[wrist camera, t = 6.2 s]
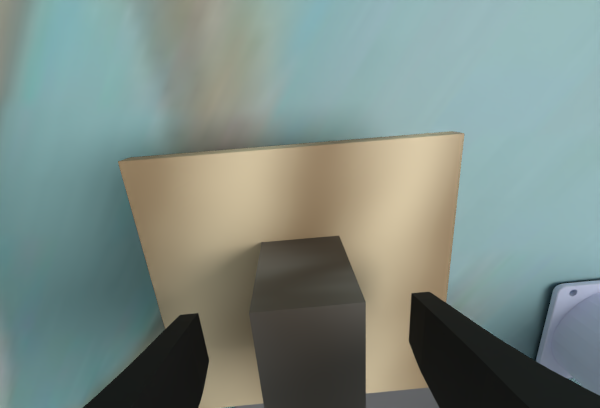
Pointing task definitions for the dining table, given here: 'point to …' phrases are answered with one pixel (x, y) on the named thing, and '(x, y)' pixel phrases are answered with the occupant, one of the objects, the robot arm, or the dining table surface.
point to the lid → (300, 260)
